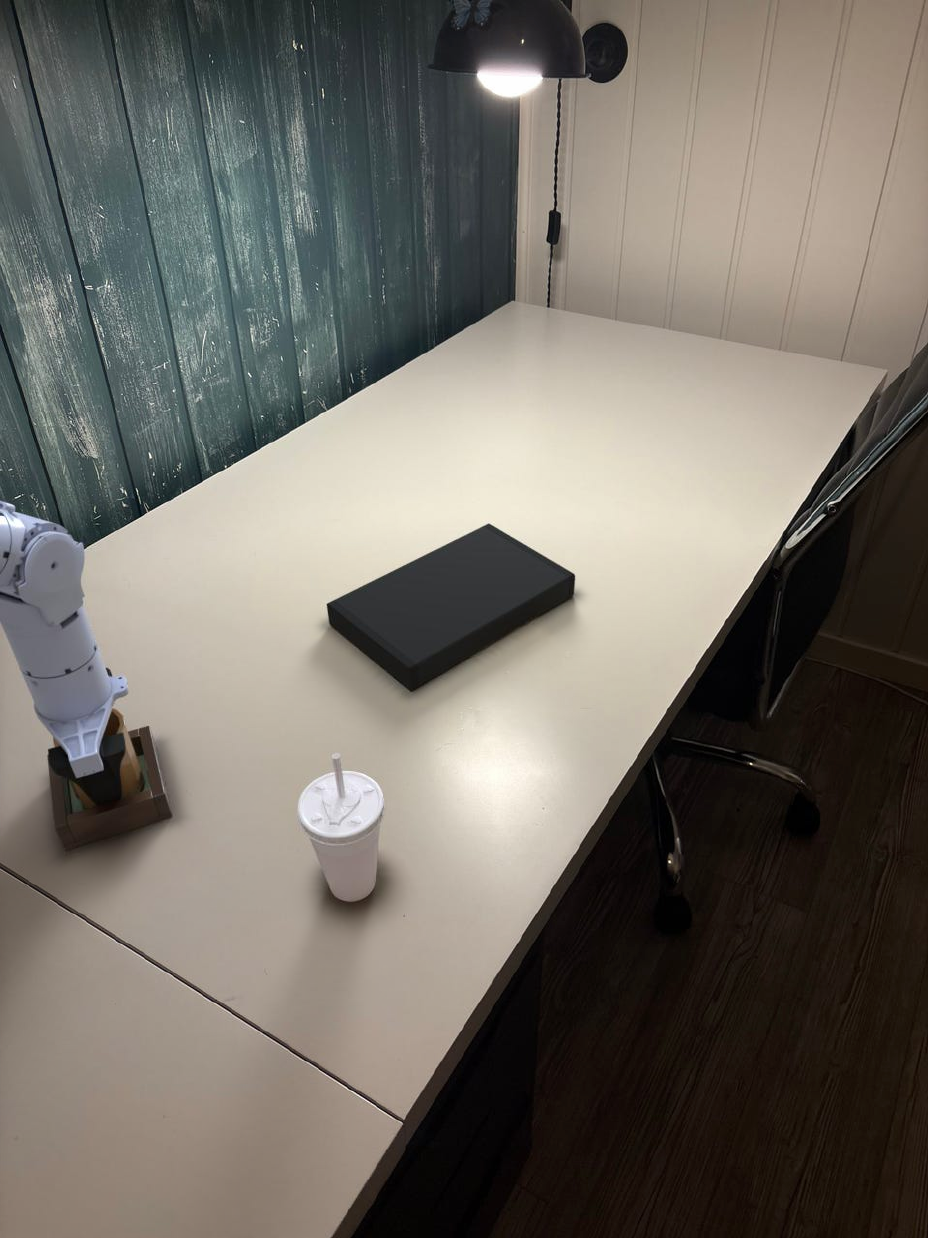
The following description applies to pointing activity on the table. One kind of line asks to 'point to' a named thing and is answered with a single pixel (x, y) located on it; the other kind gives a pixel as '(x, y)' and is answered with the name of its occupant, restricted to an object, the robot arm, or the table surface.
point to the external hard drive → (449, 604)
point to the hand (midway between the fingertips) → (104, 773)
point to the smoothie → (344, 829)
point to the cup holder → (117, 815)
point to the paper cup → (129, 765)
